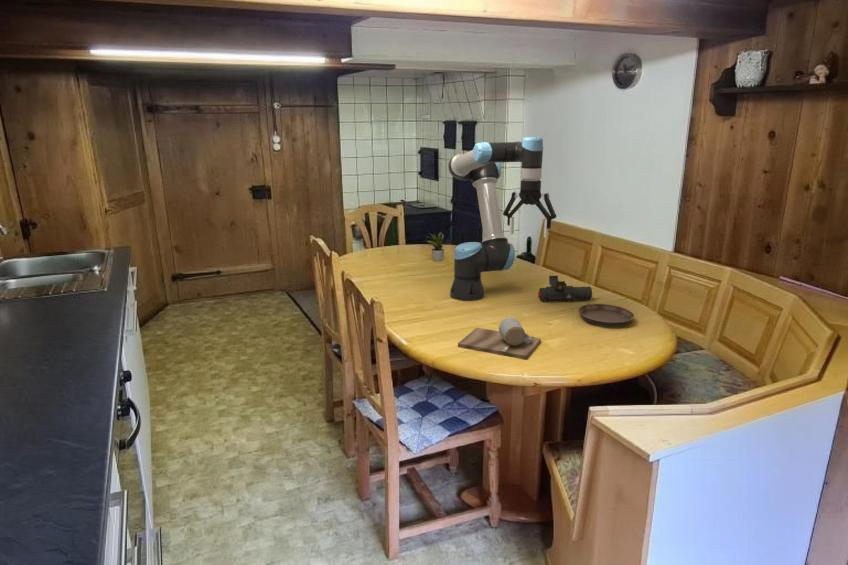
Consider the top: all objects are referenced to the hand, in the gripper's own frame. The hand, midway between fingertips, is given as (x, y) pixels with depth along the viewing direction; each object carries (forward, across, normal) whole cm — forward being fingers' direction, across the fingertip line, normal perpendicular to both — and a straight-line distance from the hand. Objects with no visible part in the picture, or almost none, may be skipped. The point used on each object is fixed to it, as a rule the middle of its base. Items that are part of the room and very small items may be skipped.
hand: (528, 235), depth 212 cm
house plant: (+32, +72, -68) cm, 104 cm away
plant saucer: (+32, -30, -7) cm, 45 cm away
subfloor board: (+32, -2, +35) cm, 47 cm away
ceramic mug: (+31, -7, +34) cm, 46 cm away
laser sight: (+32, -10, -25) cm, 42 cm away
